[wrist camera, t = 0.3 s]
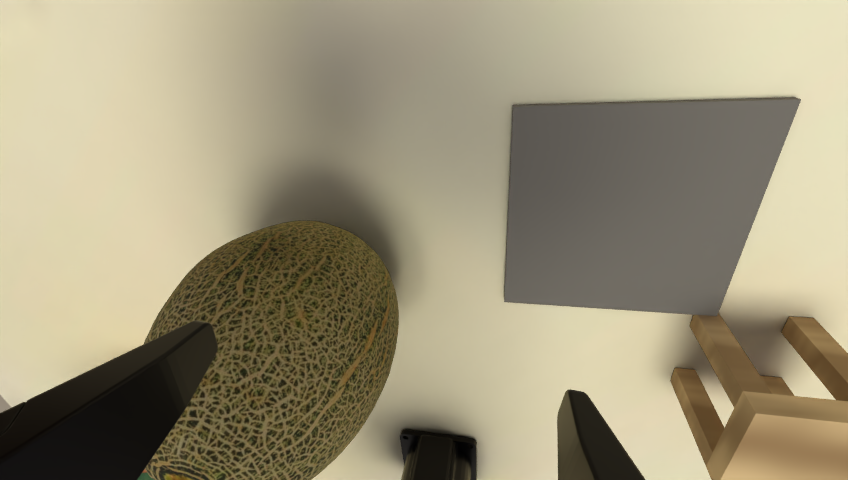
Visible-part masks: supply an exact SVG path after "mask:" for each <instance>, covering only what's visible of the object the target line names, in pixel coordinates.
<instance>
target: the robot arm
mask: <svg viewBox="0 0 848 480" xmlns="http://www.w3.org/2000/svg"><path fill="white" fill-rule="evenodd" d="M217 350H218V344H217V340H216V337H215V333H214V330H213V326H212V325H211V324H210V323H208V322H203V321H198V320H196V321H192V322H190V323H187V324H185V325H183V326H181V327H179V328H177V329H175V330H173V331H171V332H169V333H167V334H165V335H162V336H160V337H158V338H156V339H154V340H152V341H150V342H148V343H146V344H144V345H142V346H140V347H137V348H135V349H133V350H131V351H129V352H127V353H125V354H123V355H121V356H119V357H117V358H115V359H112V360H110V361H108V362H106V363H104V364H102V365H100V366H98V367H96V368H94V369H92V370H89V371H87V372H85V373H83V374H81V375H79V376H77V377H75V378H73V379H71V380H69V381H67V382H64V383H62V384H60V385H58V386H56V387H54V388H52V389H50V390H48V391H46V392H44V393H41V394H39V395H37V396H35V397H33V398H31V399H29V400H28V401H27V402H23V403H20V404H18V405H16V406H14V407H12V408H10V409H8V410H6V411H4V412H2V413H0V480H137V479H138V478H139V476H140V475H141V473H142V472H143V471H144V469H145V468H146V466H147V465H148V463H149V462H150V460H151V459H152V457H153V456H154V454H155V453H156V452H157V450H158V449H159V447H160V446H161V444H162V443H163V441H164V440H165V438H166V437H167V435H168V434H169V433H170V431H171V430H172V428H173V427H174V425H175V424H176V422H177V421H178V419H179V418H180V417H181V415H182V413H183V412H184V410H185V409H186V407H187V406H188V404H189V402H190V401H191V399H192V397H193V395H194V393H195V392H196V390H197V388H198V386H199V384H200V383H201V381H202V379H203V377H204V375H205V374H206V372H207V370H208V368H209V366H210V365H211V363H212V361H213V359H214V357H215V355H216V353H217ZM557 431H558V480H645V478H644V477H643V476H642V474H641V473H640V471H639V470H638V468H637V467H636V465H635V464H634V462H633V461H632V459H631V458H630V457H629V455H628V454H627V452H626V451H625V449H624V448H623V446H622V445H621V443H620V442H619V440H618V439H617V438H616V436H615V435H614V433H613V432H612V430H611V429H610V427H609V426H608V424H607V423H606V421H605V420H604V418H603V417H602V416H601V414H600V413H599V411H598V410H597V408H596V407H595V405H594V404H593V402H592V401H591V399H590V398H589V397H588V395H587V394H586V393H584V392H581V391H576V390H567V391H566V392H565V395H564V397H563V400H562V403H561V406H560V409H559V412H558V419H557ZM400 440H401V446H402V453H403V459H404V470H403V474H402V479H401V480H477V442H476V441H475V440H474V439H471V438H464V437H456V436H449V435H441V434H434V433H426V432H419V431H411V430H402V431H401V435H400Z"/></svg>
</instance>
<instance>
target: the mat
mask: <svg viewBox="0 0 848 480" xmlns="http://www.w3.org/2000/svg"><path fill="white" fill-rule="evenodd" d="M800 101H801V99H798V98H759V99H721V100H683V101H644V102H606V103H568V104H530V105H513V119H512V141H511V163H510V186H509V208H508V231H507V253H506V275H505V298H504V302H512V303H527V304H542V305H557V306H572V307H587V308H602V309H617V310H632V311H647V312H662V313H677V314H692V315H707V316H717V315H718V312H719V310H720V307H721V305H722V302H723V299H724V297H725V294H726V292H727V289H728V286H729V284H730V281H731V279H732V276H733V274H734V271H735V268H736V266H737V263H738V261H739V258H740V256H741V253H742V250H743V248H744V245H745V243H746V240H747V238H748V235H749V232H750V230H751V227H752V225H753V222H754V220H755V217H756V214H757V212H758V209H759V207H760V204H761V202H762V199H763V196H764V194H765V191H766V189H767V186H768V183H769V181H770V178H771V176H772V173H773V171H774V168H775V165H776V163H777V160H778V158H779V155H780V153H781V150H782V147H783V145H784V142H785V140H786V137H787V135H788V132H789V129H790V127H791V124H792V122H793V119H794V117H795V114H796V111H797V109H798V106H799V104H800Z"/></svg>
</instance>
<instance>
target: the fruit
mask: <svg viewBox="0 0 848 480" xmlns="http://www.w3.org/2000/svg"><path fill="white" fill-rule="evenodd" d="M196 320H198V321H203V322H208V323H210V324H211V325H212V326H213V330H214V333H215V337H216V340H217V344H218V350H217V353H216V355H215V357H214V359H213V361H212V363H211V365H210V366H209V368H208V370H207V372H206V374H205V375H204V377H203V379H202V381H201V383H200V384H199V386H198V388H197V390H196V392H195V393H194V395H193V397H192V399H191V401H190V402H189V404H188V406H187V407H186V409H185V410H184V412H183V413H182V415H181V417H180V418H179V419H178V421H177V422H176V424H175V425H174V427H173V428H172V430H171V431H170V433H169V434H168V435H167V437H166V438H165V440H164V441H163V443H162V444H161V446H160V447H159V449H158V450H157V452H156V453H155V454H154V456H153V457H152V459H151V460H150V462H149V463H148V465H147V466H146V468H145V470H146V472H147V473H148V474H149V476H150V477H151V478H153V479H154V480H311V479H313V478H314V477H315V476H316V475H318V474H319V473H320V472H321V471H322V470H323V469H325V468H326V467H327V466H328V465H329V464H330V463H331V462H332V461H334V460H335V459H336V458H337V456H338V455H339V454H340V453H341V452H342V451H343V450H344V449H345V448H346V447H347V445H348V444H349V443H350V442H351V441H352V439H353V438H354V437H355V436H356V434H357V433H358V432H359V430H360V429H361V428H362V426H363V425H364V423H365V422H366V420H367V418H368V416H369V415H370V413H371V412H372V410H373V408H374V407H375V404H376V402H377V400H378V398H379V396H380V394H381V392H382V390H383V388H384V385H385V383H386V380H387V378H388V376H389V373H390V369H391V365H392V361H393V358H394V354H395V349H396V343H397V335H398V325H399V311H398V302H397V296H396V292H395V288H394V286H393V283H392V280H391V278H390V275H389V273H388V270H387V269H386V267H385V265H384V263H383V262H382V260H381V259H380V257H379V256H378V255H377V254H376V252H375V251H374V250H373V249H372V248H371V247H369V246H368V245H367V244H366V243H365V242H364V241H363V240H361V239H360V238H358V237H357V236H355V235H354V234H352V233H350V232H348V231H346V230H344V229H341V228H339V227H336V226H333V225H330V224H327V223H323V222H318V221H293V222H287V223H282V224H278V225H274V226H271V227H267V228H264V229H261V230H258V231H255V232H252V233H249V234H247V235H244V236H242V237H239V238H237V239H235V240H232V241H230V242H228V243H227V244H225V245H223V246H221V247H219V248H218V249H216V250H214V251H213V252H211V253H210V254H209V255H207V256H206V257H205V258H204V259H202V260H201V261H200V262H199V263H198V264H197V265H196V266H195V267H194V268H193V269H192V270H191V271H190V272H189V273H188V274H187V275H186V276H185V277H184V279H183V280H182V281H181V282H180V284H179V285H178V286H177V288H176V289H175V290H174V292H173V293H172V295H171V296H170V297H169V299H168V300H167V302H166V303H165V305H164V306H163V308H162V309H161V311H160V312H159V314H158V316H157V318H156V319H155V321H154V323H153V325H152V327H151V329H150V332H149V334H148V336H147V338H146V340H145V342H144V344H146V343H148V342H150V341H152V340H154V339H156V338H158V337H160V336H162V335H165V334H167V333H169V332H171V331H173V330H175V329H177V328H179V327H181V326H183V325H185V324H187V323H190V322H192V321H196Z"/></svg>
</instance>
